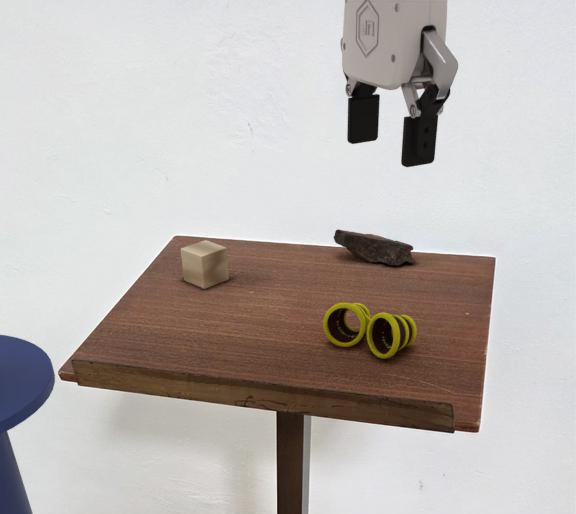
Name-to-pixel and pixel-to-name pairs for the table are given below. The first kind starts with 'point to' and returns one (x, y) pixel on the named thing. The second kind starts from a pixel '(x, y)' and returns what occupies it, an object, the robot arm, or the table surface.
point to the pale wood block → (205, 264)
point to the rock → (375, 247)
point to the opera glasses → (369, 329)
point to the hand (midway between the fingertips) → (388, 152)
